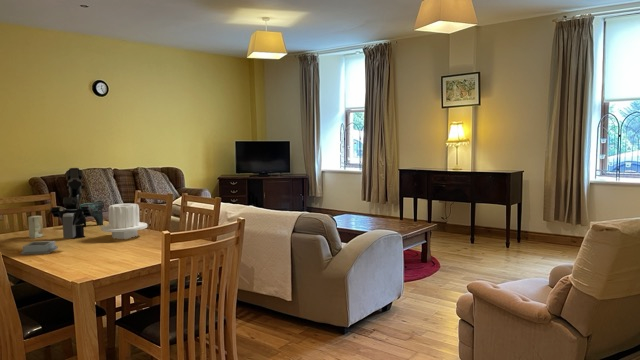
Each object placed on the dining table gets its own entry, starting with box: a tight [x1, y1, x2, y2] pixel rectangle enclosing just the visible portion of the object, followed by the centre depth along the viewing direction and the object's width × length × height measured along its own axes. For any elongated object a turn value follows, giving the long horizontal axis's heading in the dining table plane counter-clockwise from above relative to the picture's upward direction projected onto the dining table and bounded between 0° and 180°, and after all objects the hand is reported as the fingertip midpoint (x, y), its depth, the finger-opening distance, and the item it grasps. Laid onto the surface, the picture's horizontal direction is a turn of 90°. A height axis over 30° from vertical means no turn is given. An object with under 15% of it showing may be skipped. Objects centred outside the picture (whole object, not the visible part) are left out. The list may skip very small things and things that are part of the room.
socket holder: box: [19, 240, 59, 256], centre depth 243 cm, size 13×13×4 cm
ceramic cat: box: [80, 195, 105, 227], centre depth 311 cm, size 20×6×20 cm, turn 135°
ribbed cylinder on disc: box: [100, 202, 148, 240], centre depth 277 cm, size 25×25×19 cm
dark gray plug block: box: [61, 213, 76, 239], centre depth 245 cm, size 4×4×12 cm
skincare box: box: [27, 215, 44, 239], centre depth 279 cm, size 6×4×12 cm
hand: (68, 224), depth 243 cm, fingers closed on dark gray plug block, 4 cm apart
